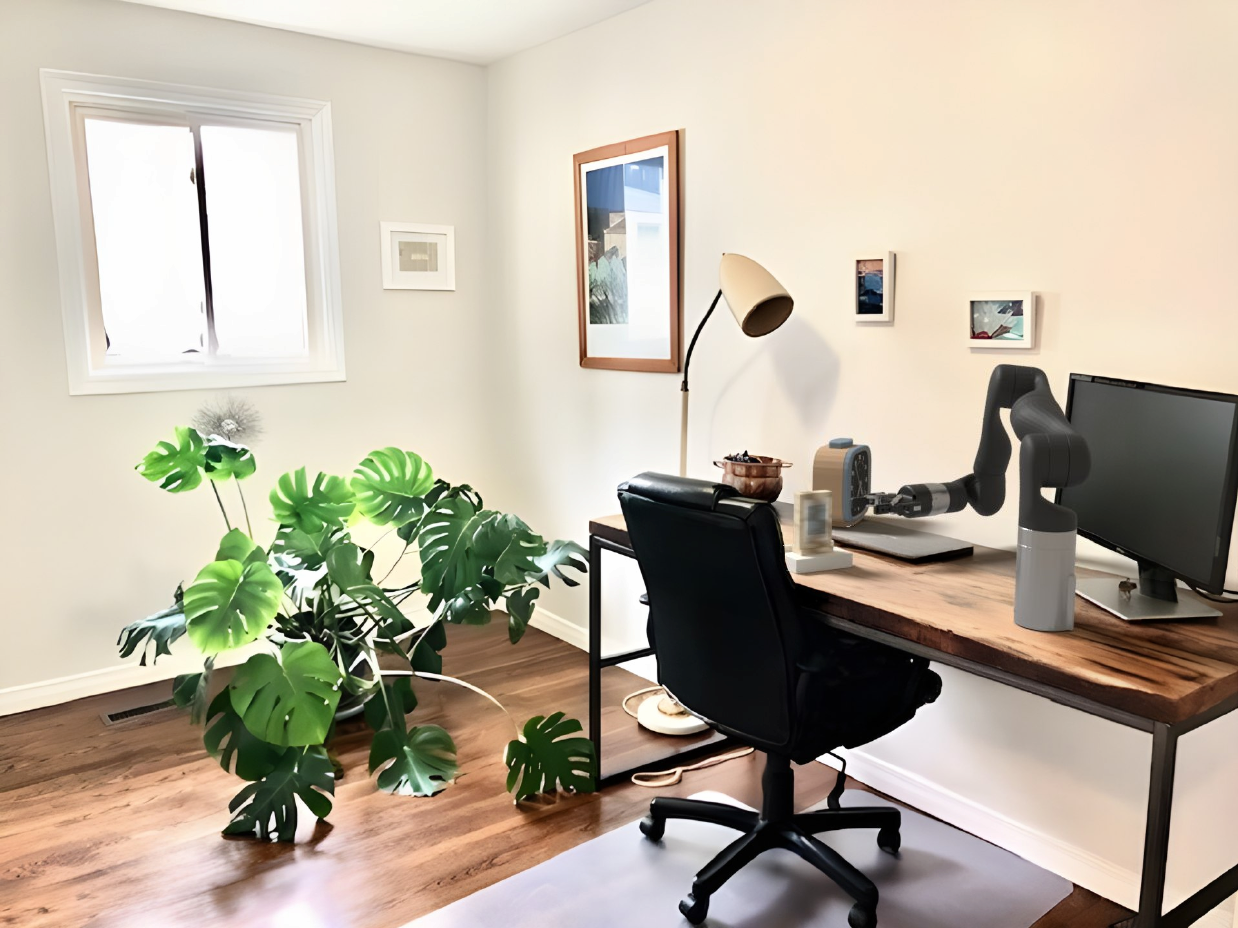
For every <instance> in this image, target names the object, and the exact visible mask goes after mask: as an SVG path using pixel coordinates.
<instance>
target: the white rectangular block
mask: <svg viewBox="0 0 1238 928" xmlns="http://www.w3.org/2000/svg"><path fill="white" fill-rule="evenodd" d="M792 546H793V544H786V545H785V559H786V563H787V567H788V570H787V571H789V572H791V573H793V574H795V575H796V574H798V575H799V574H805V573H814V572H822V571H823V572H824V571H829V570H837V569H847V568H853V564H854V563H853V562H854V559H853V557H854V556H853V555H854V553H853V552H852V551H848V550H846V549H843V548H840V547H837V546H835V540H833V539H832V540H831V546H833V552H831V553H823V554H814V555H806V556H800V555H798V554H795V553H793V552H791V548H792Z"/></svg>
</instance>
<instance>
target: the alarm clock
mask: <svg viewBox="0 0 1238 928" xmlns="http://www.w3.org/2000/svg"><path fill="white" fill-rule="evenodd" d="M811 488H812V490H811V491H818V490H829V491H832V527H841V528H846V527H845V526H850V525H853V524H855V523H856V524H858V523H859V522H861V521H862V520H863V517H864V516H865V515H866V514H867V513H868V511H869V508H870V507H858V508H852V507H851V506H850V500H851V498H855V497H862V494H863V493H865V494H867V493H872V492H871V491H872V451H871V448H870V447H869V445H868V444H855V443H854V439H853V438H851V437H850V438H849V437H848V438H847V437H839V438H833V439H831V440H829V441H828V443H826V444H825V445H821V446H820V447H819V448H818V449H817V450H816V452H815V454H814V457H813V464H812V487H811ZM869 502H870V498H869ZM856 524H855V525H856ZM853 526H854V525H853Z"/></svg>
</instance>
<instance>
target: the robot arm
mask: <svg viewBox="0 0 1238 928" xmlns="http://www.w3.org/2000/svg"><path fill="white" fill-rule="evenodd" d="M1051 389H1052V388H1051V386H1050V382H1049V379H1048V376H1047V374H1046V372H1045V371H1044V370H1043V369H1041V368H1039V367H1036V366H1026V365H1018V364H1017V365H1016V364H1009V363H1006V364H1005V363H1000V364H997V365H996V366H995V367H994V369H993V370H992V372H991V374H990V379H989V382H988V386H987V393H986V398H985V404H984V411H983V417H982V427H981V434H980V439H979V440H980V441H979V445H978V448H977V451H976V456H975V459H974V461H973V466H972V471H973V472H972V473H968V474H966V475H964V476H962V477H960V478H957V479H955V480H953V481H947V482H938V483H937V482H924V483H916V484H905V485H902V486H901V487H900V488H899V490H897V492H888V493H886V492H884V491H881V492H880V491H879V492H871V493H867V494H865V493H863V494H862V497H855V498H851V500H850V506H851V507H852V508H858V507H869V508H873V511H872V512H873V515H875V516H879V515H880V516H881V515H888V514H890V515H892V516H893V515H897V516H899V517H902V516H903V517H904V518H905V519H917V518H926V517H935V516H938V515H942V514H951V513H952V514H953V513H959V512H961V511H963V510H964V509H966V507H967V505H968V504H969V505H970V506H971V508H972V509H973V510H974V512H975V513H976V514H978V515H980V516H983V517H991V516H994V515H996V514H997V513H998V512H1000V510H1001V509H1002V508H1003V505H1004V503H1005V500H1006V496H1007V492H1006V491H1007V489H1006V488H1007V487H1006V486H1007V485H1006V484H1007V479H1006V473H1007V469H1008V466H1009V464H1010V461H1011V457H1012V452H1013V447H1012V445H1013V444H1012V441H1011V438H1010V436H1009V434H1008V432H1007V430H1006V428H1005V426H1004V424H1003V421H1002V418H1001V414H1000V413H1001V409H1008V410H1010V413H1009V422H1010V427H1011V428H1012V431H1013V433H1014V435H1015V437H1016V438H1017V439H1018V441H1019V442H1020V446H1019V453H1018V457H1019V459H1018V460H1019V461H1018V465H1019V466H1018V467H1019V468H1018V472H1019V473H1018V474H1019V477H1018V478H1019V498H1018V499H1019V500H1018V502H1019V503H1018V523H1017V541H1016V543H1017V544H1016V563H1015V584H1014V604H1013V606H1014V607H1013V622H1014V623H1015V624H1016V625H1018V626H1021V627H1023V628H1027V629H1030V630H1035V631H1042V632H1062V631H1074V625H1075V624H1074V623H1075V606H1076V604H1075V603H1076V588H1077V586H1076V585H1077V576H1076V573H1075V568H1076V553H1077V552H1076V551H1077V534H1078V515H1077V513H1076V511H1074V510H1073V509H1071V508H1068V507H1065V506H1063V505H1060V504H1057V503H1055V502H1052V501H1050V500H1049V499H1047V498H1045V497H1044V495H1042V488H1045V489H1074V488H1078V487H1081V486H1084V485H1085V484H1086V483H1087V482H1088V480H1089V479H1090V477H1091V474H1092V470H1093V457H1092V453H1091V452H1092V451H1091V449H1090V445H1089V444H1088V442H1087V440H1086V439H1085V437H1084V435H1082V434H1081V433H1080V432H1079V431H1078V430H1077V429H1076V428H1075V427H1074V426H1073V425H1072V424H1071V423H1070V421H1069V420H1068V419H1067V417H1066V415H1065V413H1064V410H1063V408H1062V407H1061V406H1060V403H1058V401H1057V400H1056V398H1055V396H1054V394H1053V392H1052V390H1051ZM869 498H870V502H869Z"/></svg>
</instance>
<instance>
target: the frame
mask: <svg viewBox="0 0 1238 928" xmlns="http://www.w3.org/2000/svg"><path fill="white" fill-rule="evenodd" d="M832 533H833V526H832V491H829V490H818V491H812V490H809V491H799V492H793V544H792V545H793V546H792V548H791V552H793V553H795V554H798V555H800V556H806V555H814V554H823V553H831V552H833V546H831V540H833V539H832V538H833V537H832V535H833V534H832Z"/></svg>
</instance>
